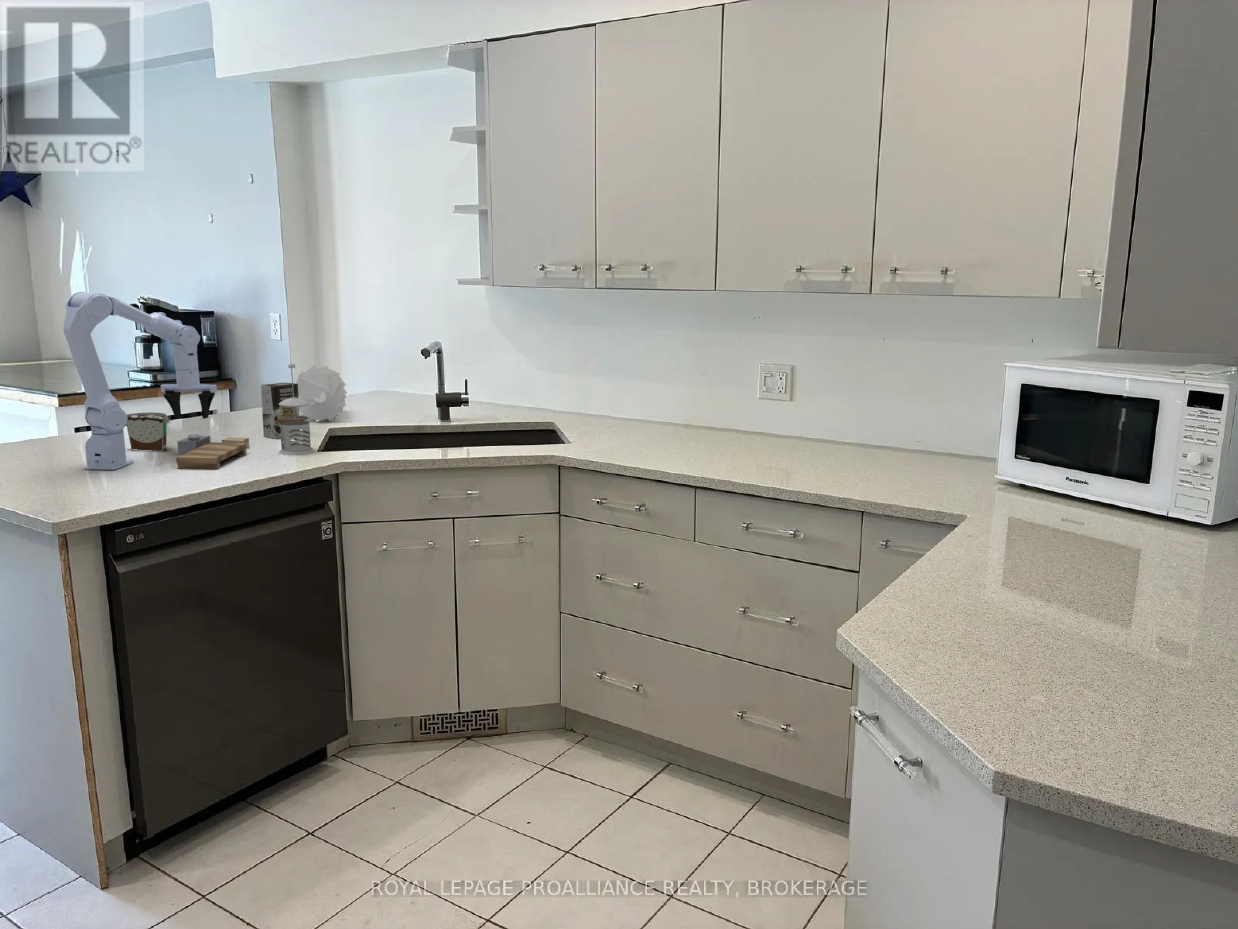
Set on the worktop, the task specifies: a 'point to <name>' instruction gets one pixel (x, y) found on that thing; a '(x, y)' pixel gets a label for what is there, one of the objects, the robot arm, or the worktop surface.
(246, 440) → the beech offcut
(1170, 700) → the worktop surface
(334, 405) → the spiral staircase
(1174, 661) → the worktop surface
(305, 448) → the french press
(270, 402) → the coffee box
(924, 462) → the worktop surface
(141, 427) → the food container
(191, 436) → the block
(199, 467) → the stand
